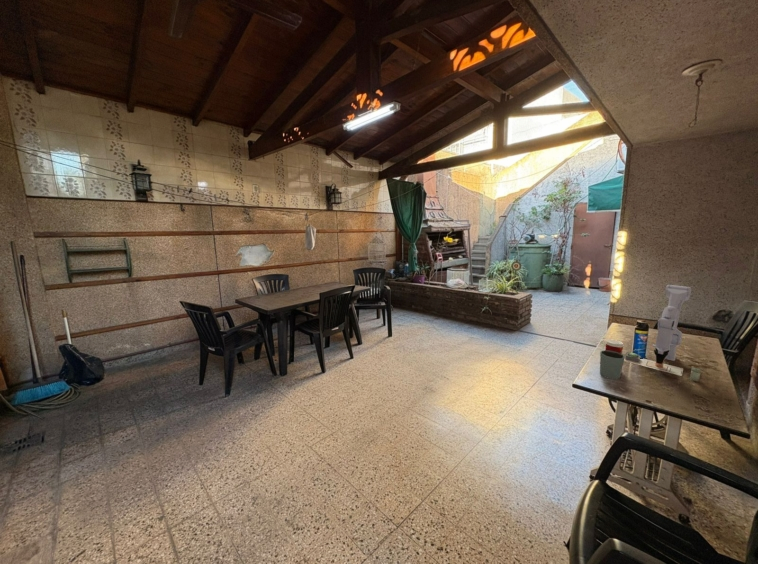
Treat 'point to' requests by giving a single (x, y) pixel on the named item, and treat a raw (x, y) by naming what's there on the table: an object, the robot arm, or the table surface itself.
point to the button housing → (633, 358)
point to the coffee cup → (614, 346)
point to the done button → (633, 355)
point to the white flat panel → (665, 367)
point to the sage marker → (695, 374)
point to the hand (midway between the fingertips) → (659, 362)
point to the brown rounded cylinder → (659, 364)
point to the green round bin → (611, 364)
